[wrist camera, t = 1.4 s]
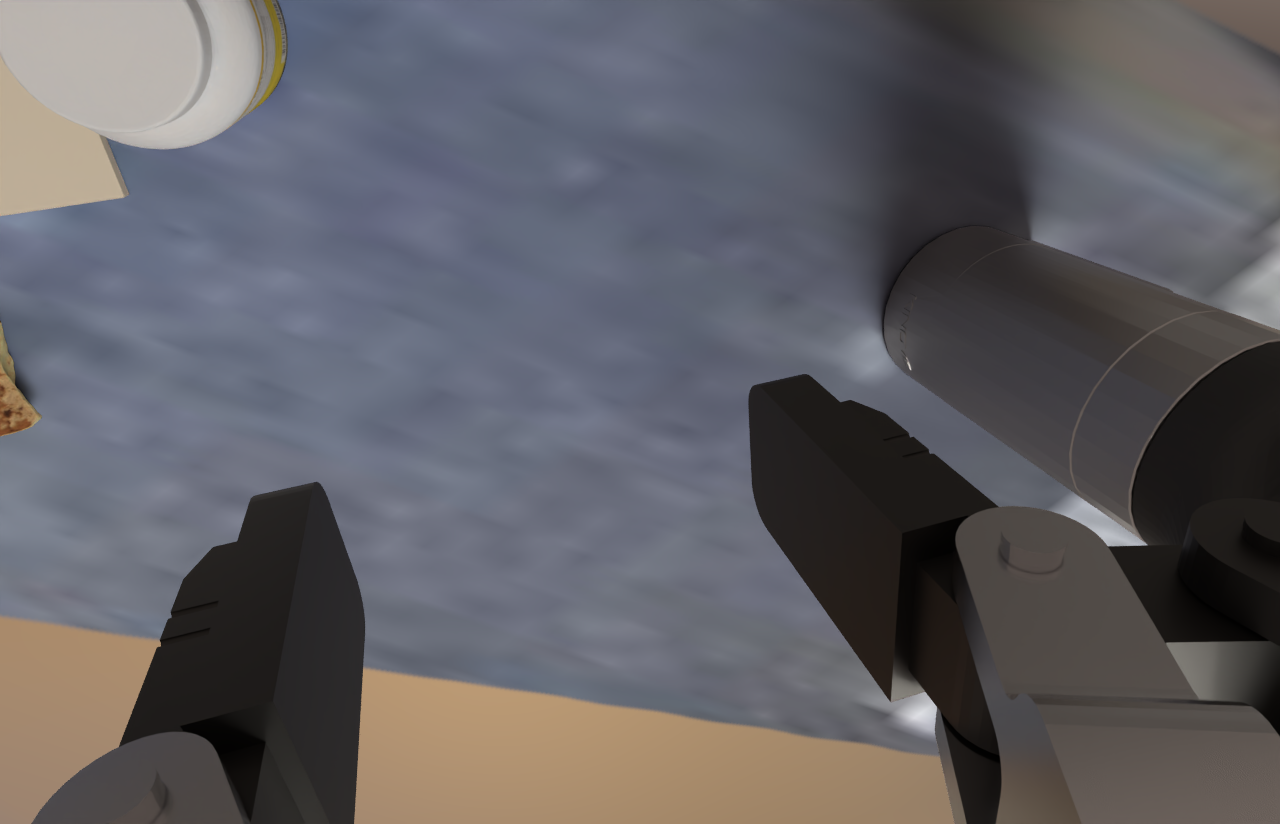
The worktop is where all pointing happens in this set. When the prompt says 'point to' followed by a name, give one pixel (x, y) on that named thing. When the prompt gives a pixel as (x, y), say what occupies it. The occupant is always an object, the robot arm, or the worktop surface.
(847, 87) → the worktop surface
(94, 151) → the mat
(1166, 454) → the robot arm
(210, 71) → the pill bottle
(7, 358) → the shard
